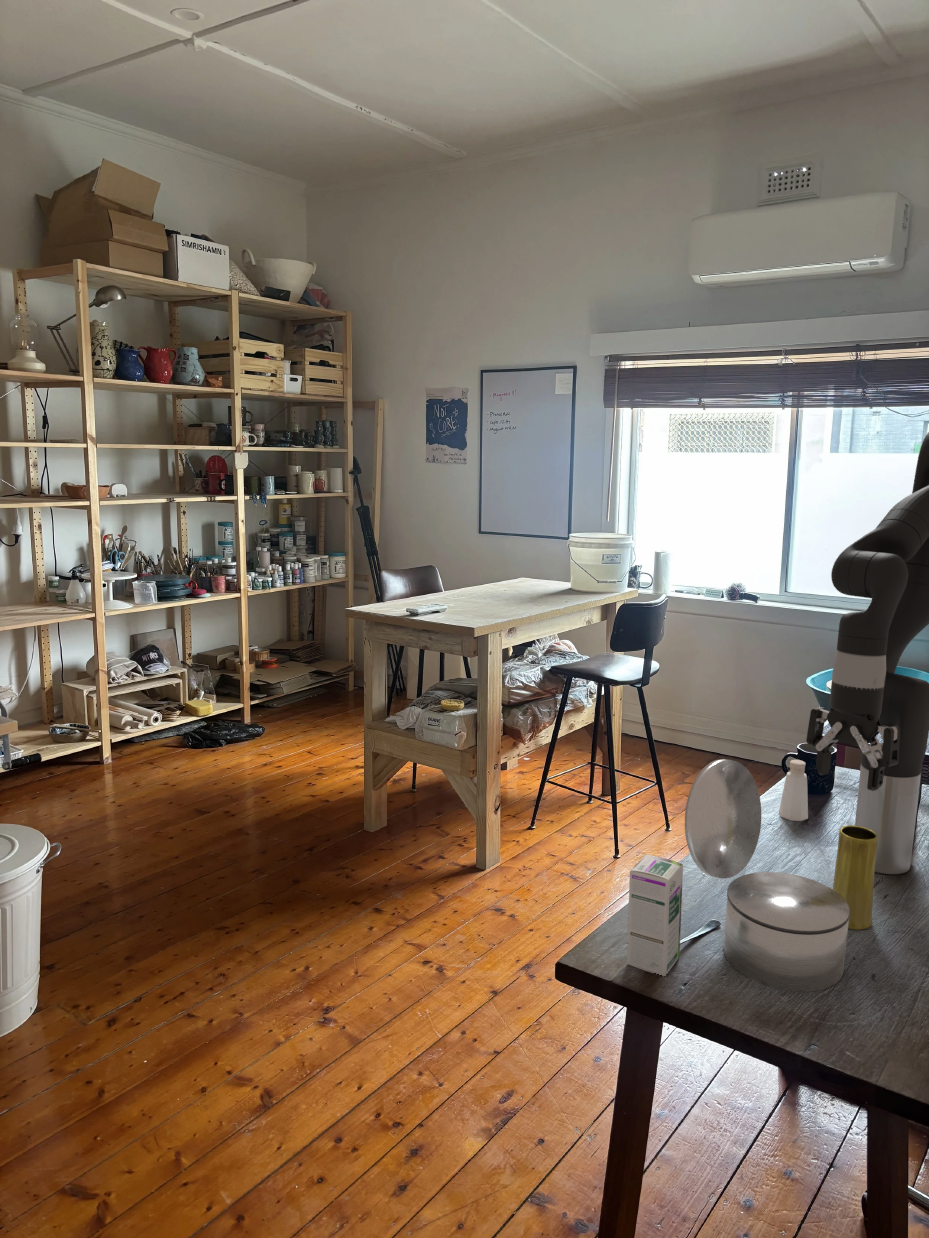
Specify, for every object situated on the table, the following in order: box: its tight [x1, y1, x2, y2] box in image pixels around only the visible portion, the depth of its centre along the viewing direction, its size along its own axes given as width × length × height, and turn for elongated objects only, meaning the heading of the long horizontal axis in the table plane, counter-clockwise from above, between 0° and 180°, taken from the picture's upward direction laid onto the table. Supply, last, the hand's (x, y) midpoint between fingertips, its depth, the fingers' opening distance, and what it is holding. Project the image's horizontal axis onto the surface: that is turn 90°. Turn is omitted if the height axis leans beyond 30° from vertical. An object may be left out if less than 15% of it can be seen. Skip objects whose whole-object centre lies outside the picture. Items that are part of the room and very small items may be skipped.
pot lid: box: [684, 758, 762, 880], centre depth 133 cm, size 17×17×3 cm
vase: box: [832, 824, 878, 931], centre depth 137 cm, size 6×6×14 cm
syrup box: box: [626, 854, 684, 977], centre depth 125 cm, size 6×6×14 cm
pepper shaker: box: [778, 759, 809, 822], centre depth 174 cm, size 5×5×11 cm
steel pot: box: [723, 871, 850, 993], centre depth 127 cm, size 16×16×9 cm
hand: (847, 781), depth 143 cm, fingers open, 8 cm apart
